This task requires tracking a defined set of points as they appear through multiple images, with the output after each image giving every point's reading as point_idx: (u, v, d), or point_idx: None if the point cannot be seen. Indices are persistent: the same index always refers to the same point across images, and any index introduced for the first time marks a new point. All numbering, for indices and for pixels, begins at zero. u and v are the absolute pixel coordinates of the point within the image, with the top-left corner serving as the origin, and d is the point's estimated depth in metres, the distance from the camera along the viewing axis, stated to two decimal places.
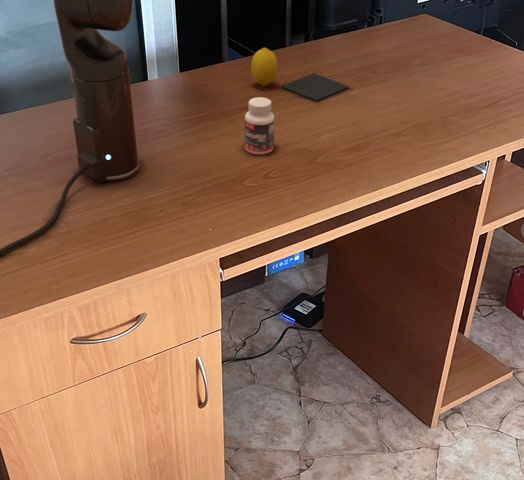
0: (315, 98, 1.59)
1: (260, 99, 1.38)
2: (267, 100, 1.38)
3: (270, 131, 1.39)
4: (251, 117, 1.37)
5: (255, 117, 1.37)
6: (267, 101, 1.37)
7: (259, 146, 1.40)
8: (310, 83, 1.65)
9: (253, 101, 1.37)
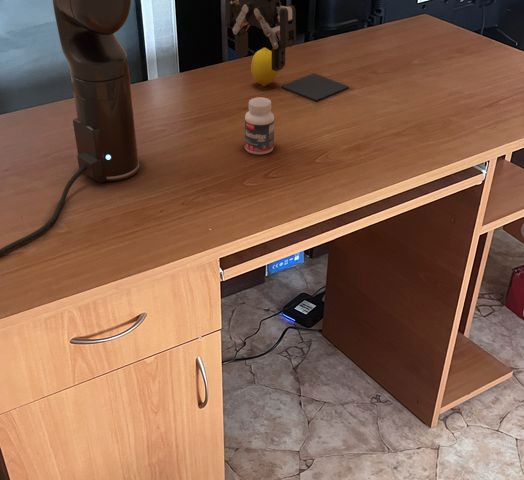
0: (315, 98, 1.59)
1: (260, 99, 1.38)
2: (267, 100, 1.38)
3: (270, 131, 1.39)
4: (251, 117, 1.37)
5: (255, 117, 1.37)
6: (267, 101, 1.37)
7: (259, 146, 1.40)
8: (310, 83, 1.65)
9: (253, 101, 1.37)
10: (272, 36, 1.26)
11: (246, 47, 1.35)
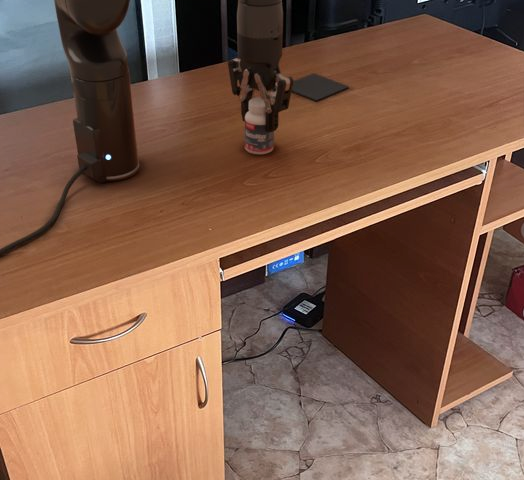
0: (315, 98, 1.59)
1: (260, 99, 1.38)
2: None
3: None
4: (251, 117, 1.37)
5: (255, 117, 1.37)
6: None
7: (259, 146, 1.40)
8: (310, 83, 1.65)
9: (253, 101, 1.37)
10: (267, 101, 1.34)
11: None
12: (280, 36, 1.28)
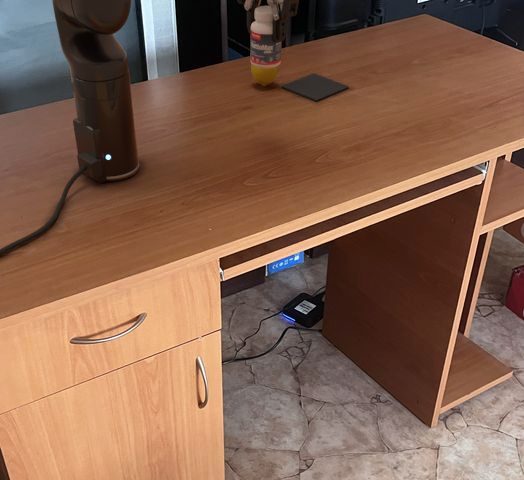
0: (315, 98, 1.59)
1: (267, 7, 1.30)
2: None
3: None
4: (257, 26, 1.30)
5: (262, 26, 1.29)
6: None
7: (266, 58, 1.32)
8: (310, 83, 1.65)
9: (259, 9, 1.29)
10: (275, 7, 1.26)
11: None
12: None
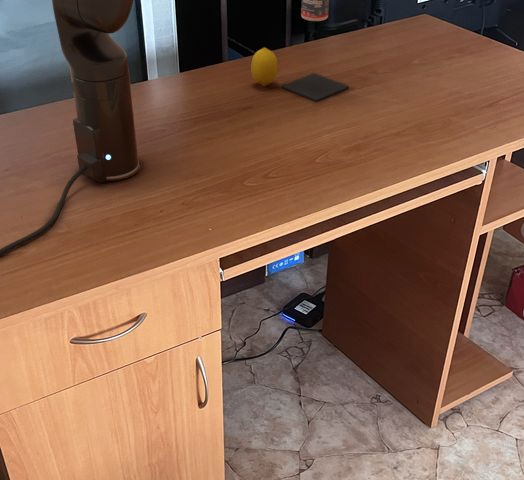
0: (315, 98, 1.59)
1: None
2: None
3: None
4: None
5: None
6: None
7: (316, 12, 1.50)
8: (310, 83, 1.65)
9: None
10: None
11: None
12: None
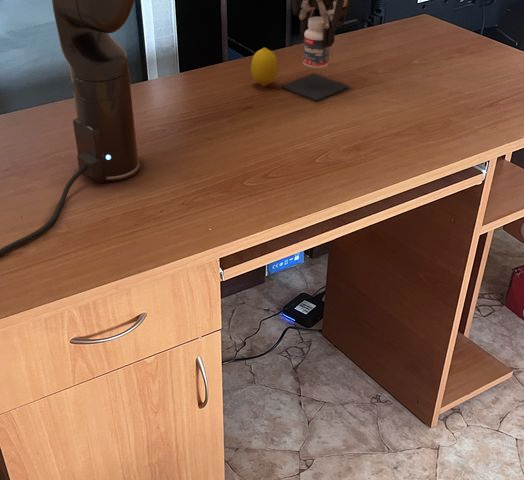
0: (315, 98, 1.59)
1: (318, 17, 1.56)
2: None
3: None
4: (311, 33, 1.56)
5: (314, 33, 1.55)
6: None
7: (317, 60, 1.58)
8: (310, 83, 1.65)
9: (312, 19, 1.56)
10: (326, 18, 1.52)
11: None
12: None
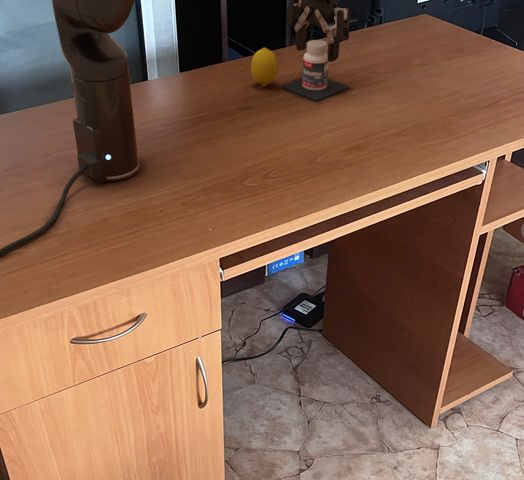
0: (315, 98, 1.59)
1: (317, 41, 1.59)
2: (323, 42, 1.59)
3: (325, 69, 1.60)
4: (309, 56, 1.59)
5: (313, 57, 1.58)
6: (323, 43, 1.58)
7: (316, 83, 1.61)
8: None
9: (311, 43, 1.58)
10: (329, 33, 1.53)
11: (305, 42, 1.62)
12: None
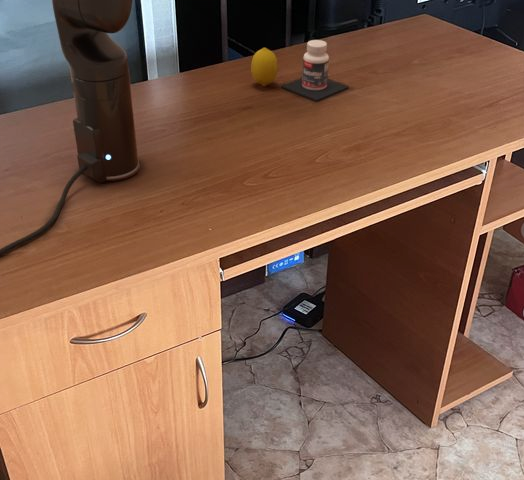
0: (315, 98, 1.59)
1: (317, 41, 1.59)
2: (323, 42, 1.59)
3: (325, 69, 1.60)
4: (309, 56, 1.59)
5: (313, 57, 1.58)
6: (323, 43, 1.58)
7: (316, 83, 1.61)
8: None
9: (311, 43, 1.58)
10: None
11: None
12: None
